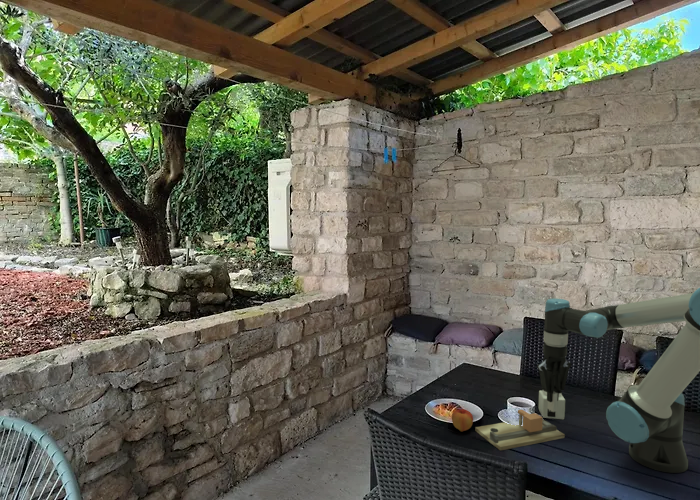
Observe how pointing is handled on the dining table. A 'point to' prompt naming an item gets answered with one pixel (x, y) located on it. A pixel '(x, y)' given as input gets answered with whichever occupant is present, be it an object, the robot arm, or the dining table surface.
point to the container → (548, 413)
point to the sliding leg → (530, 421)
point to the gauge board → (517, 435)
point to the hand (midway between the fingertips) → (552, 409)
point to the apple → (462, 419)
